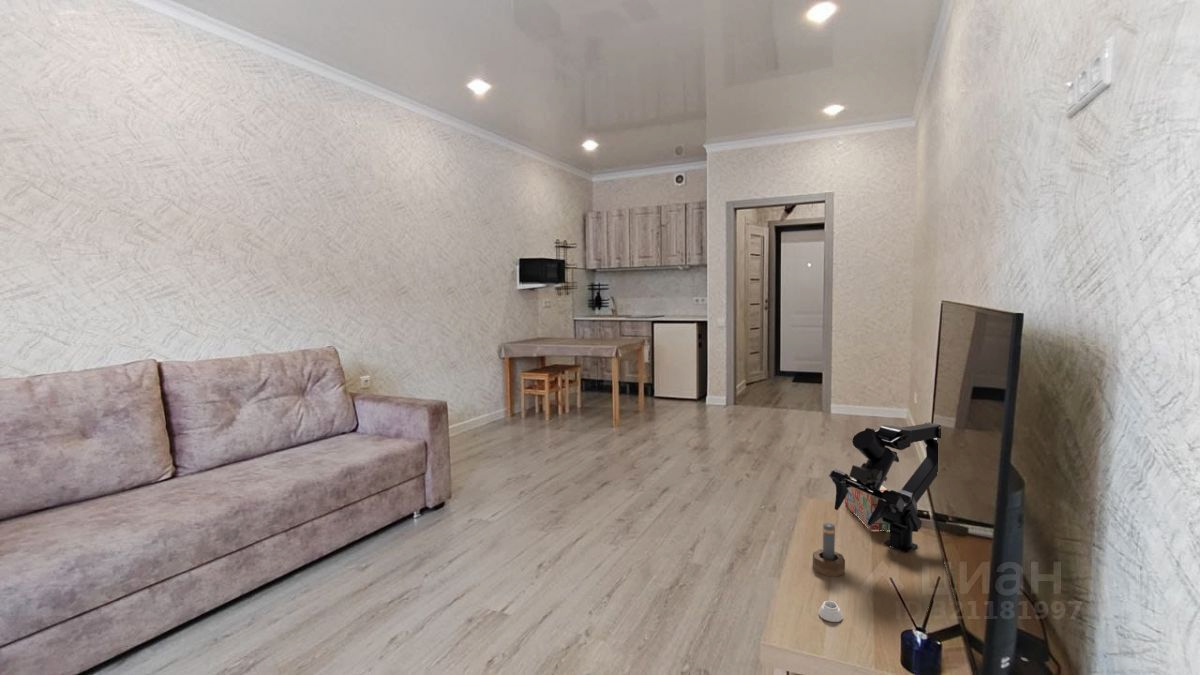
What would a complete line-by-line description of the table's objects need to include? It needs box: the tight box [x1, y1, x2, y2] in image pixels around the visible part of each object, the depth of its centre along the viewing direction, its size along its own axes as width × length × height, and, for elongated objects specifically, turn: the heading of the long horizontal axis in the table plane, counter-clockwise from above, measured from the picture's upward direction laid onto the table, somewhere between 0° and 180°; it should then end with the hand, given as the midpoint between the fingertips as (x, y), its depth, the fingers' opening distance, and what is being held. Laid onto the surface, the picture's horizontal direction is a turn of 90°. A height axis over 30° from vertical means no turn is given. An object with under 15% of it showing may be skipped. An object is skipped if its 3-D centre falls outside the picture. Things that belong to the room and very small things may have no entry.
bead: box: [812, 548, 846, 578], centre depth 143 cm, size 7×7×4 cm
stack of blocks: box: [844, 478, 890, 532], centre depth 173 cm, size 21×6×12 cm, turn 175°
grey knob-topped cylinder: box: [822, 522, 836, 561], centre depth 142 cm, size 3×3×12 cm
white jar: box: [818, 600, 844, 623], centre depth 123 cm, size 5×3×5 cm
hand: (851, 517), depth 144 cm, fingers open, 9 cm apart
